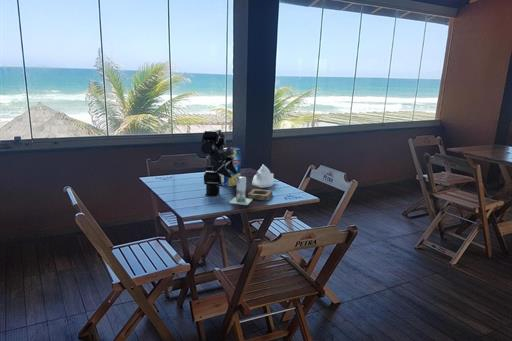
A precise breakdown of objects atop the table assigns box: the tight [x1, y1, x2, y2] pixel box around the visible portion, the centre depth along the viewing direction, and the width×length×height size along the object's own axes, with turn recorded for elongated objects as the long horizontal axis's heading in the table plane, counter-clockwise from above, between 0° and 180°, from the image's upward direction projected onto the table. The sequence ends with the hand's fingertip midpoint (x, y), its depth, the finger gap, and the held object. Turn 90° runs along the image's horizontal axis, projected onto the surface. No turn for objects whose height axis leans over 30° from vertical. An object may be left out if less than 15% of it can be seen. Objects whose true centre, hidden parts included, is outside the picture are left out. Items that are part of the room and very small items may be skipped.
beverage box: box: [220, 147, 242, 187], centre depth 227 cm, size 7×11×22 cm, turn 118°
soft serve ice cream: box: [251, 164, 274, 189], centre depth 228 cm, size 12×15×14 cm
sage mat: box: [228, 196, 254, 206], centre depth 196 cm, size 10×10×1 cm
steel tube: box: [235, 175, 247, 202], centre depth 195 cm, size 5×5×12 cm
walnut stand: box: [247, 188, 273, 201], centre depth 205 cm, size 11×11×2 cm
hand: (233, 175), depth 194 cm, fingers open, 9 cm apart
